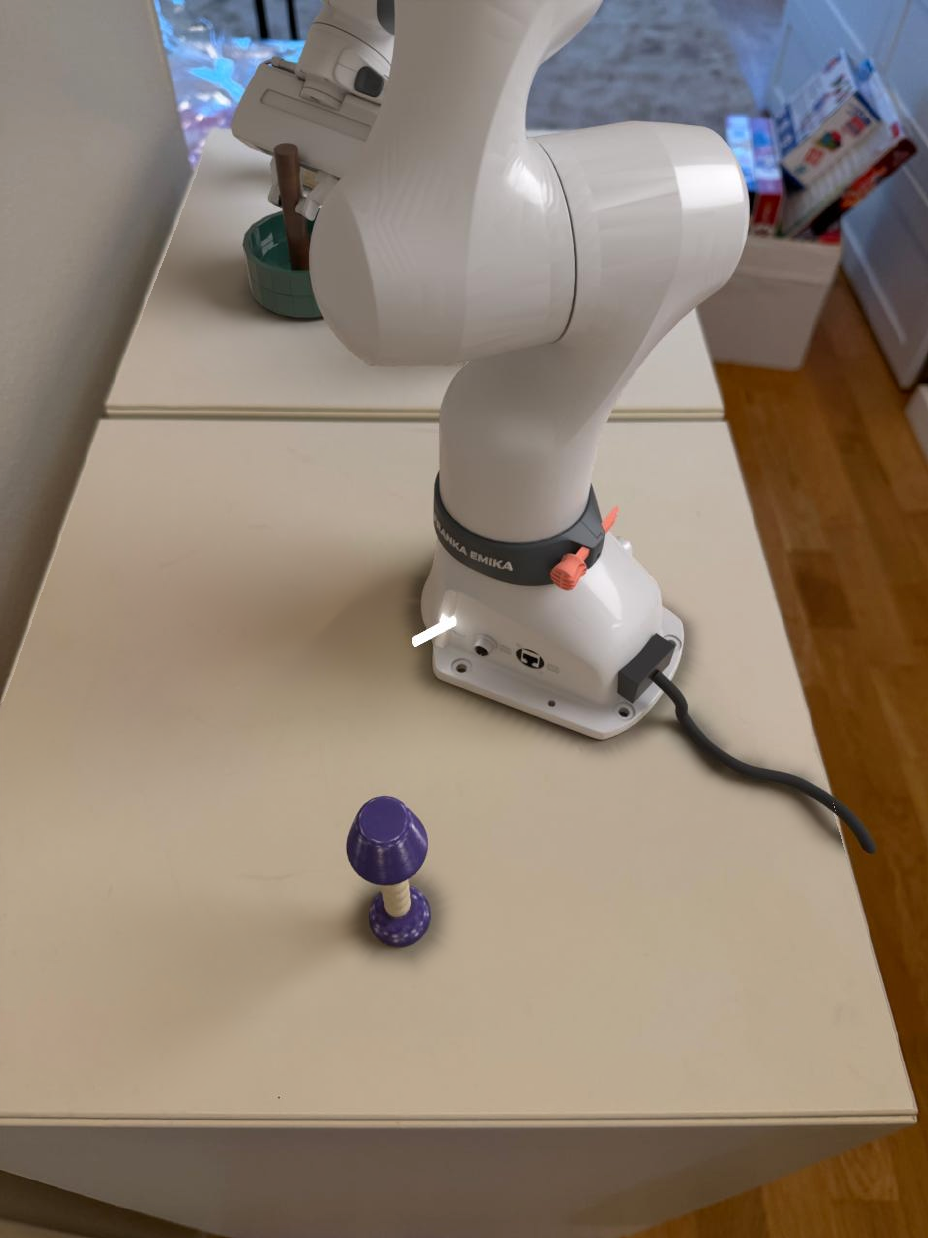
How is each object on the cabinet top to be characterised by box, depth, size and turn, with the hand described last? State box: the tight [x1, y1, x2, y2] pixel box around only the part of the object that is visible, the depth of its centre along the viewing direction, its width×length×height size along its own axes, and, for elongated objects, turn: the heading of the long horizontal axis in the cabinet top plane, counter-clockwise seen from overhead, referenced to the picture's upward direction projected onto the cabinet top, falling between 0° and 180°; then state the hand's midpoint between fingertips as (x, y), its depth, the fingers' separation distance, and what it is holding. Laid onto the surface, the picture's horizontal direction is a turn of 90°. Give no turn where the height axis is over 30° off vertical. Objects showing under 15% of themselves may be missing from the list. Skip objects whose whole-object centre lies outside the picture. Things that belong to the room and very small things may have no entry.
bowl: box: [241, 207, 323, 318], centre depth 105 cm, size 13×13×6 cm
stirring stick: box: [274, 143, 310, 271], centre depth 98 cm, size 2×2×14 cm
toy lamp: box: [345, 795, 432, 948], centre depth 56 cm, size 5×5×17 cm
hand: (290, 211), depth 97 cm, fingers closed on stirring stick, 2 cm apart
